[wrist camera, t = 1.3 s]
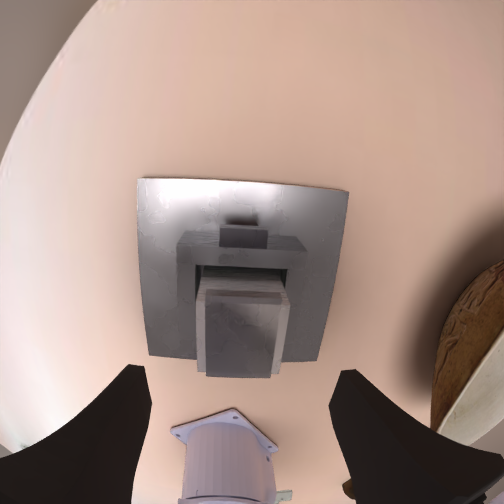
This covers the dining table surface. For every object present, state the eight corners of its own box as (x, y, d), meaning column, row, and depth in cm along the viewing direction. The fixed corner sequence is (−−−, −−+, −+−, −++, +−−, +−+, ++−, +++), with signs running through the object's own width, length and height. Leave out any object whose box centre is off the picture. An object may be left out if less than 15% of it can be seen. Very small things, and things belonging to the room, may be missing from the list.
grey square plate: (313, 353, 22) (326, 386, 18) (152, 347, 21) (140, 381, 17) (343, 190, 18) (370, 199, 14) (142, 177, 17) (118, 183, 13)
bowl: (537, 293, 24) (580, 323, 14) (432, 416, 28) (462, 465, 19) (501, 160, 17) (581, 177, 8) (343, 351, 22) (389, 442, 13)
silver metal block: (266, 317, 19) (278, 377, 13) (205, 315, 19) (196, 375, 13) (273, 253, 18) (292, 298, 12) (206, 249, 17) (194, 294, 12)
